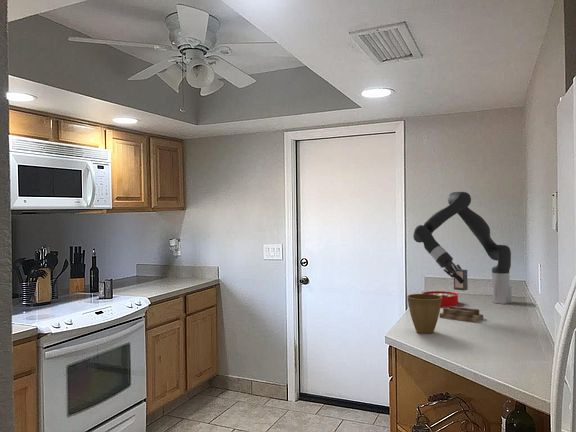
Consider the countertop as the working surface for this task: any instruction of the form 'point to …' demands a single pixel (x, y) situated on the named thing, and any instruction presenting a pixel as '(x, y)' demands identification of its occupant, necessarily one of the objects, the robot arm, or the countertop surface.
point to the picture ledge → (461, 314)
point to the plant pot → (424, 311)
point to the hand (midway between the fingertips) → (464, 281)
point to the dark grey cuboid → (463, 275)
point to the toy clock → (446, 297)
